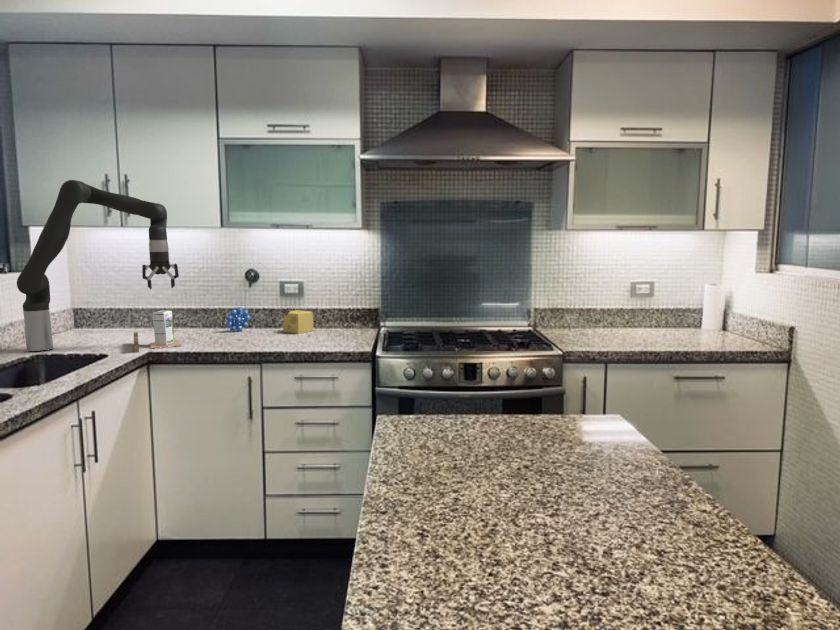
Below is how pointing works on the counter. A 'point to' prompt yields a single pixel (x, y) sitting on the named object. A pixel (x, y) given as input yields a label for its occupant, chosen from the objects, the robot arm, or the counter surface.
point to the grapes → (238, 319)
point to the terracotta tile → (176, 343)
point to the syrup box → (163, 327)
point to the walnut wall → (136, 342)
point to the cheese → (298, 322)
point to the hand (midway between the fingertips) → (161, 288)
